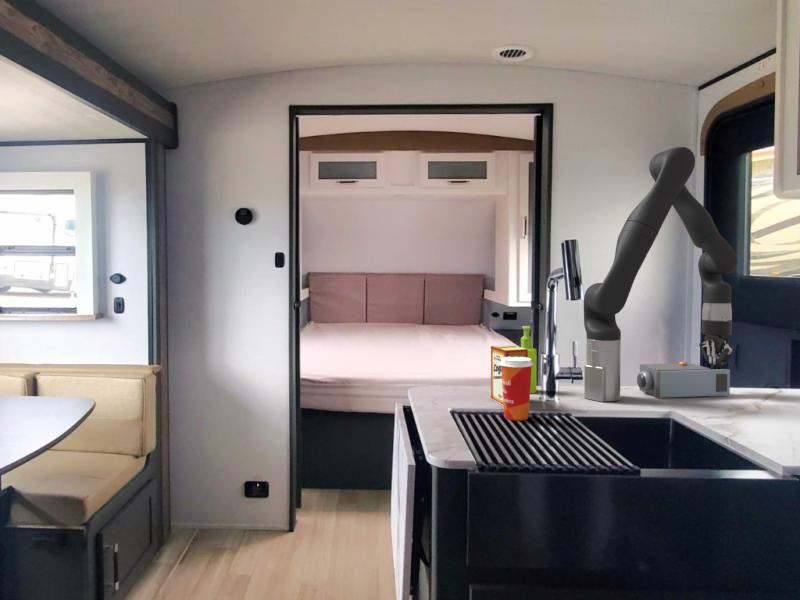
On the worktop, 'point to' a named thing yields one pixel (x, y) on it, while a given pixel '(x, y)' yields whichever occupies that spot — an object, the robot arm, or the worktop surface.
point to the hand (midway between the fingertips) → (715, 377)
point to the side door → (692, 383)
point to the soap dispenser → (530, 356)
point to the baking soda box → (496, 373)
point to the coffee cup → (516, 387)
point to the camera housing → (648, 370)
